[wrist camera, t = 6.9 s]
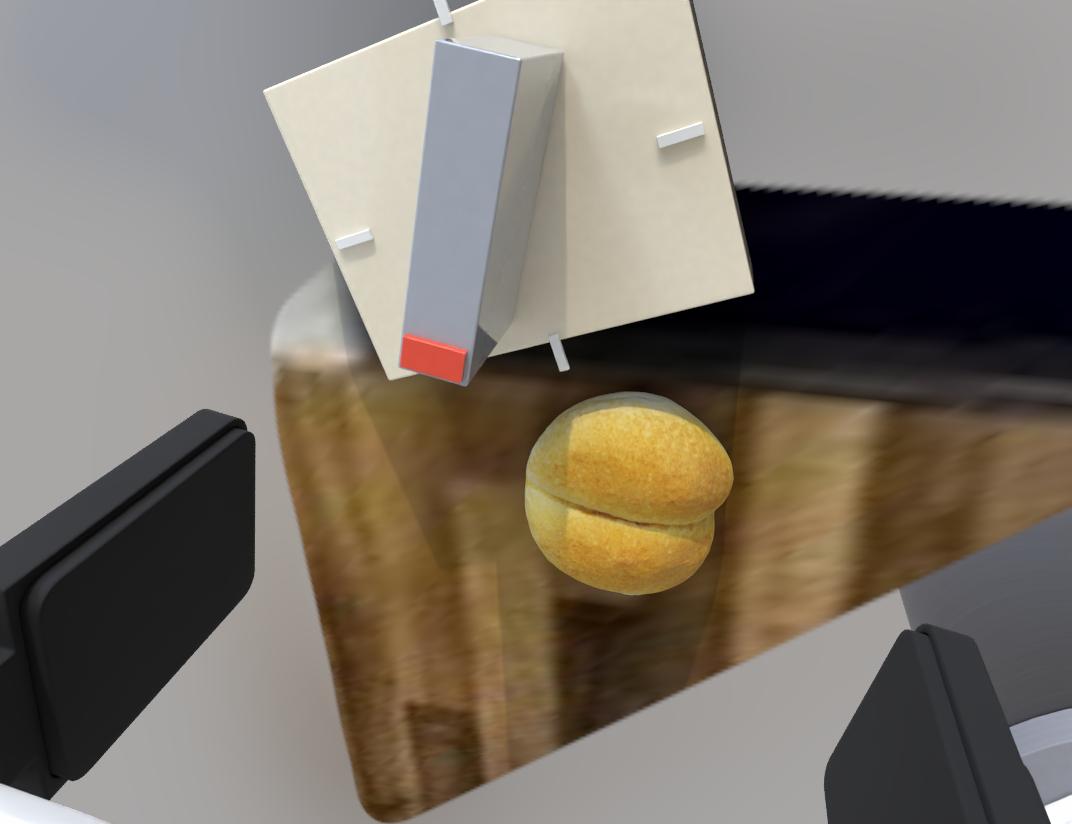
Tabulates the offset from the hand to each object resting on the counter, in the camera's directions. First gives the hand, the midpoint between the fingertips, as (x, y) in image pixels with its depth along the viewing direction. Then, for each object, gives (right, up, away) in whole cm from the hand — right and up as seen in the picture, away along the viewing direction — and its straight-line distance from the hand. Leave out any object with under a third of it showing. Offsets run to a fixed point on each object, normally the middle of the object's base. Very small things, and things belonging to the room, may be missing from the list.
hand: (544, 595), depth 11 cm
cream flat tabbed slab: (-1, +11, +17) cm, 20 cm away
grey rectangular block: (-1, +10, +14) cm, 17 cm away
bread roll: (+4, 0, +22) cm, 22 cm away
